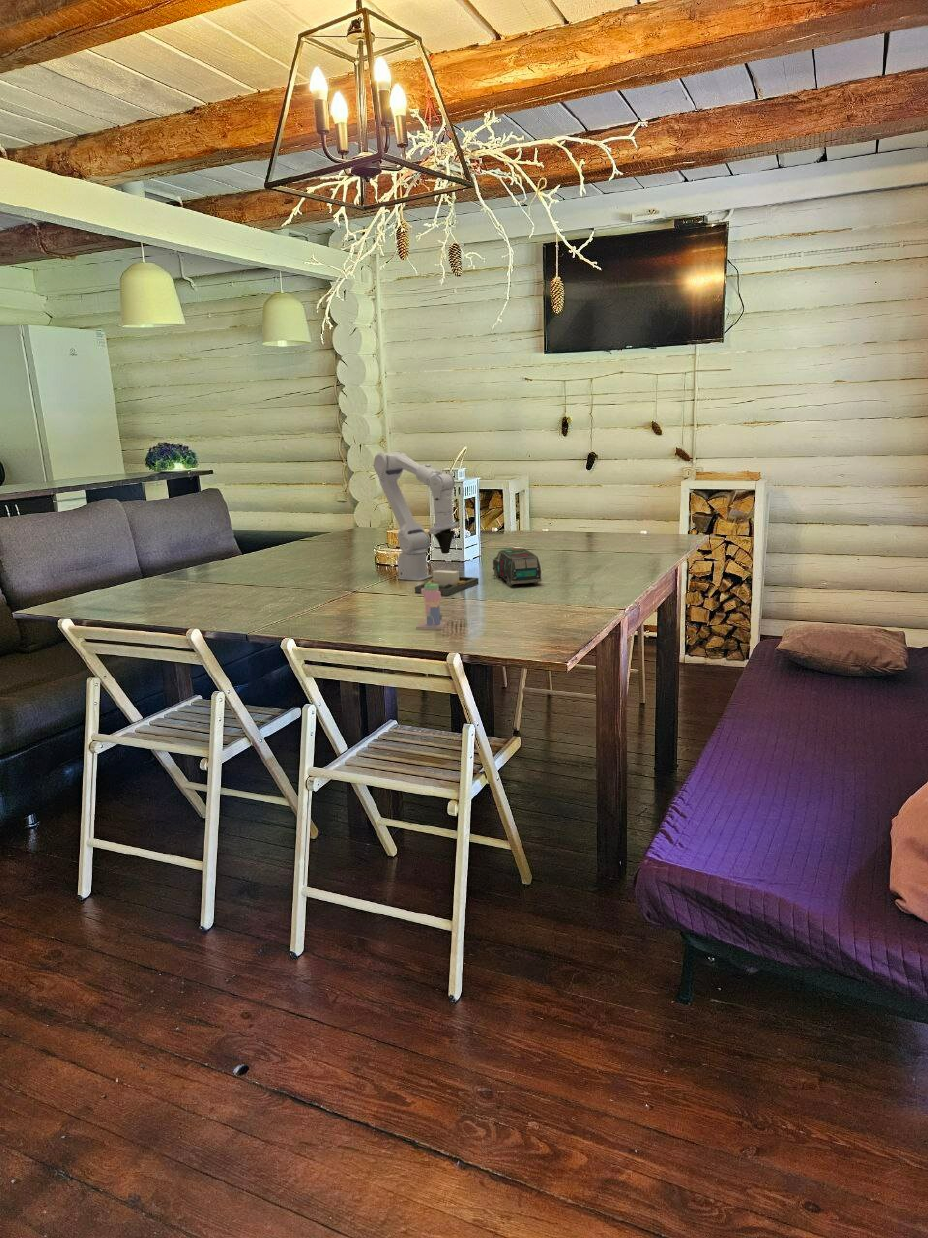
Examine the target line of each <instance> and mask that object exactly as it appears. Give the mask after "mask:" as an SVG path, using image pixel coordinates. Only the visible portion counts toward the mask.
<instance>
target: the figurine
mask: <svg viewBox="0 0 928 1238" xmlns="http://www.w3.org/2000/svg"><path fill="white" fill-rule="evenodd" d="M427 582H428V583H427ZM427 582H426V583H427V584H426V585H425V586H424V588H422V589H421V595H424V603H425V604H424V606H425V608H424V609H425V617H426V621H420V622H419V623H418V624H417V625H416V626H415V630H439V631H440V630H443V629H444V628H445V627H446V625H448V623H447V622H448V621H442V620H443V614H442V613H441V606H440V600H441V599H442V596H441V591H439V586H438V584H431V581H429V580H428V581H427Z"/></svg>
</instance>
